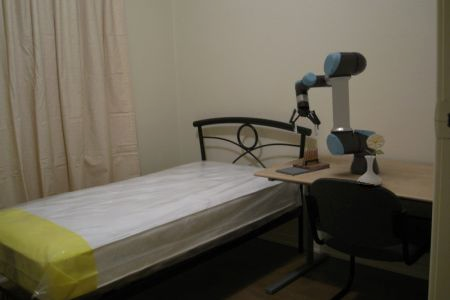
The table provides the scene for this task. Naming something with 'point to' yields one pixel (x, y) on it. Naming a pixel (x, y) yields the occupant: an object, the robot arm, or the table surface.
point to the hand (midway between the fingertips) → (306, 134)
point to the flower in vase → (375, 143)
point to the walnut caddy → (312, 166)
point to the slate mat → (292, 171)
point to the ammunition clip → (310, 157)
